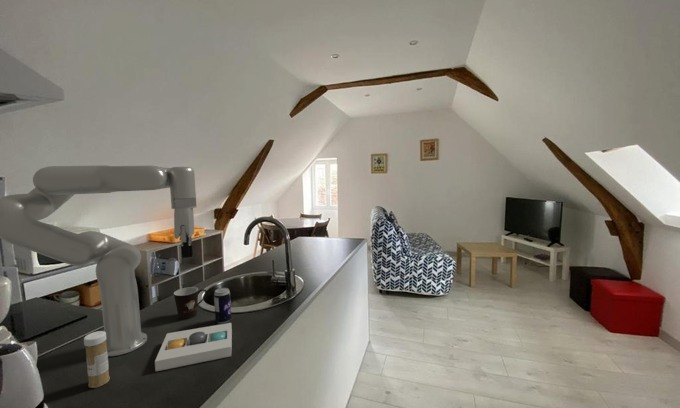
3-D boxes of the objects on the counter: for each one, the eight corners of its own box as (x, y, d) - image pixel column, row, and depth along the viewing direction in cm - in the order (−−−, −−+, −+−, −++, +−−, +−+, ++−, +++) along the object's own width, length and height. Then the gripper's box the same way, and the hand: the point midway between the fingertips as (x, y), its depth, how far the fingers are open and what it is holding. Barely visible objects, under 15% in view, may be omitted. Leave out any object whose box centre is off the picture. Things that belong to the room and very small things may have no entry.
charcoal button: (188, 348, 92) (188, 340, 91) (190, 340, 96) (190, 333, 95) (204, 345, 93) (204, 337, 93) (205, 337, 97) (205, 330, 97)
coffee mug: (174, 322, 112) (172, 297, 111) (176, 313, 120) (174, 289, 119) (208, 316, 117) (206, 291, 116) (208, 307, 124) (206, 284, 124)
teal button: (210, 347, 94) (209, 339, 93) (211, 340, 98) (211, 333, 98) (225, 344, 95) (224, 337, 95) (225, 337, 99) (225, 330, 99)
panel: (155, 371, 84) (154, 361, 83) (167, 342, 99) (167, 333, 98) (231, 356, 90) (230, 346, 90) (231, 330, 105) (231, 322, 105)
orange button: (167, 355, 90) (166, 347, 89) (170, 347, 94) (169, 340, 94) (183, 352, 91) (182, 344, 91) (185, 345, 95) (185, 337, 95)
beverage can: (226, 325, 109) (224, 293, 108) (212, 323, 111) (210, 292, 109) (234, 318, 115) (232, 287, 114) (221, 316, 116) (219, 287, 115)
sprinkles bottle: (85, 385, 79) (80, 336, 77) (106, 375, 83) (101, 328, 81) (92, 391, 76) (87, 341, 75) (113, 380, 80) (109, 333, 79)
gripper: (175, 202, 106) (179, 252, 108) (166, 206, 92) (170, 264, 94) (198, 201, 109) (201, 250, 111) (193, 204, 95) (197, 261, 97)
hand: (187, 256), depth 102 cm, fingers closed
